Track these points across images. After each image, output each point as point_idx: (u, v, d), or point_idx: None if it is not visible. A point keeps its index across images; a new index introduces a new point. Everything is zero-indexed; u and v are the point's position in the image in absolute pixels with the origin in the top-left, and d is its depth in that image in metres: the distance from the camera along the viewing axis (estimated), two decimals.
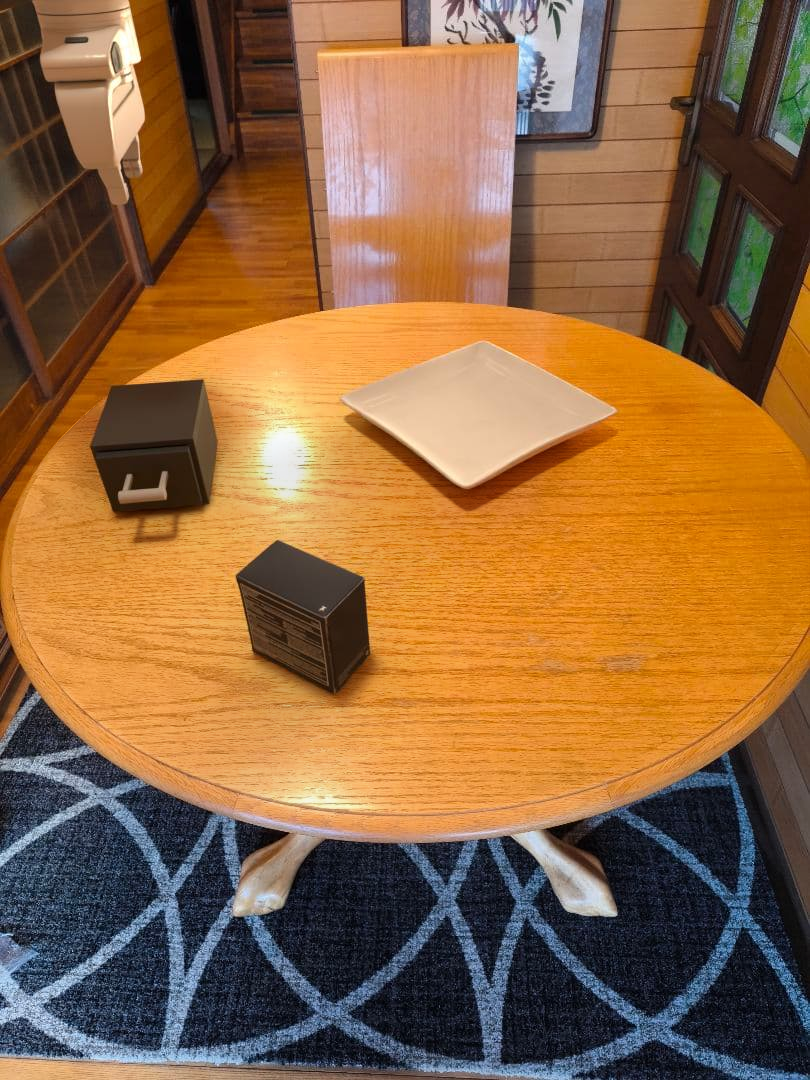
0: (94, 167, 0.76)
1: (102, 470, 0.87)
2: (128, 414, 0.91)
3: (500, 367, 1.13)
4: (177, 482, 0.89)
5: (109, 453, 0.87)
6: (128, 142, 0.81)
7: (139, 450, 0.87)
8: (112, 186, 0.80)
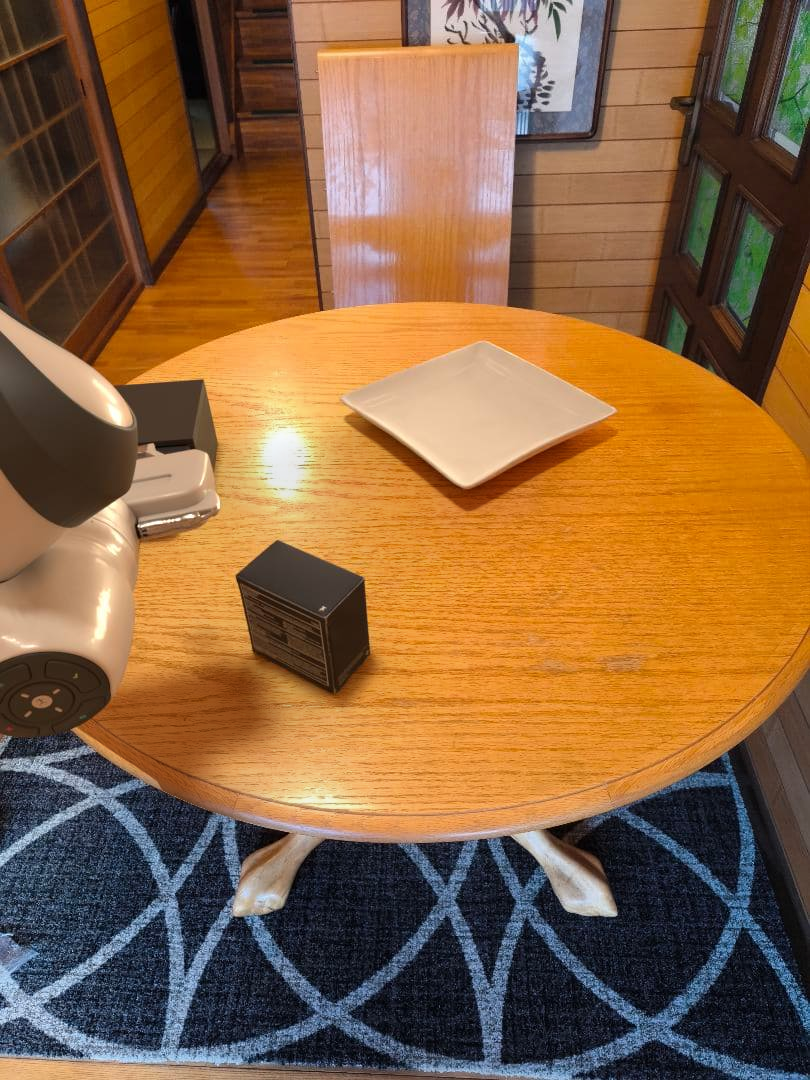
0: None
1: None
2: None
3: (500, 367, 1.13)
4: None
5: None
6: None
7: None
8: None
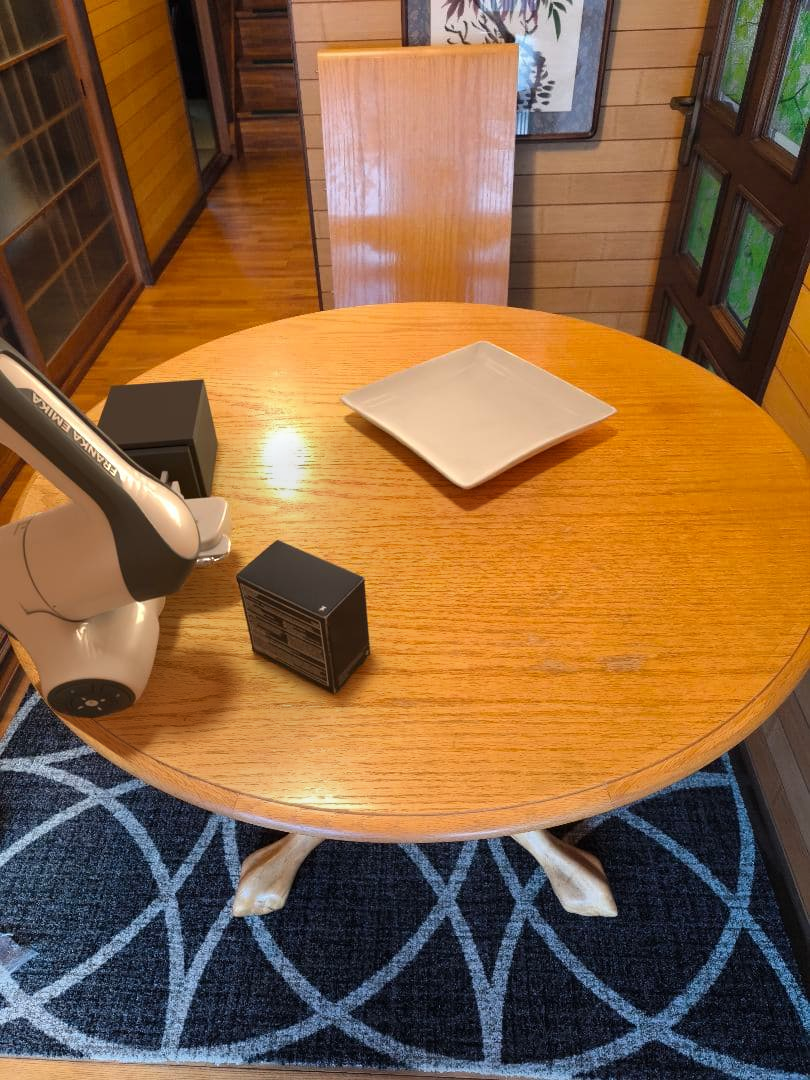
0: None
1: None
2: (128, 414, 0.91)
3: (500, 367, 1.13)
4: None
5: None
6: None
7: (139, 450, 0.87)
8: None
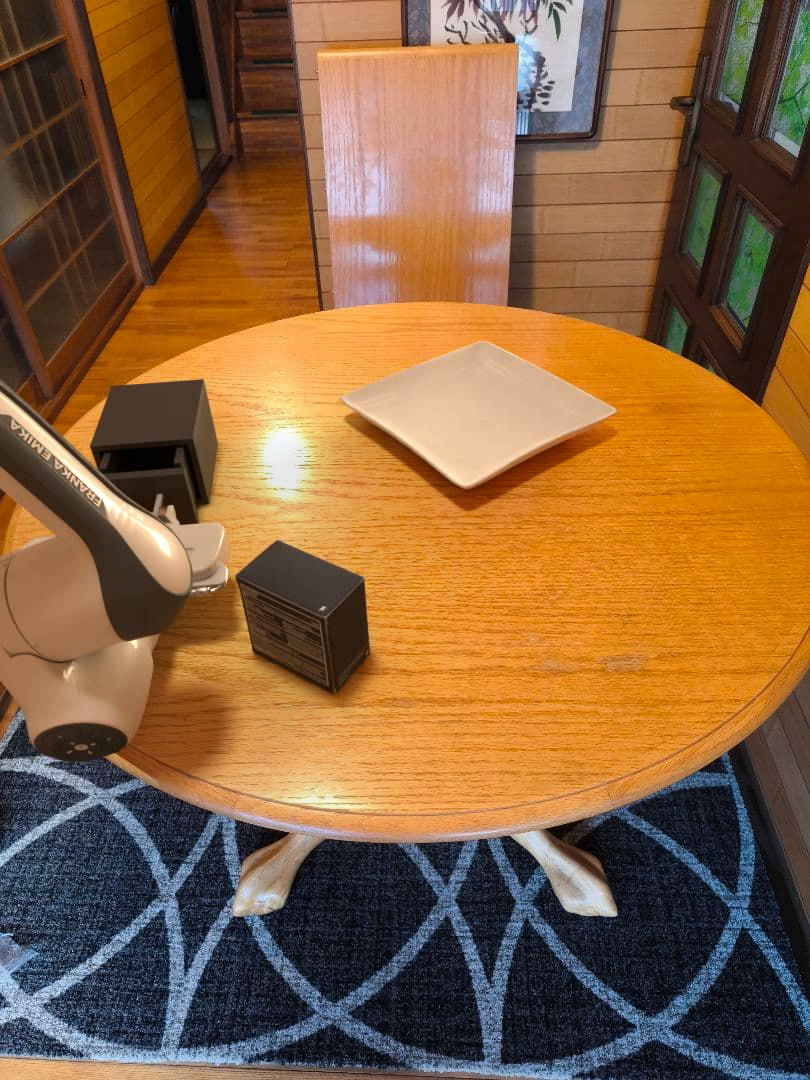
0: None
1: None
2: (128, 414, 0.91)
3: (500, 367, 1.13)
4: None
5: None
6: None
7: (133, 472, 0.84)
8: None
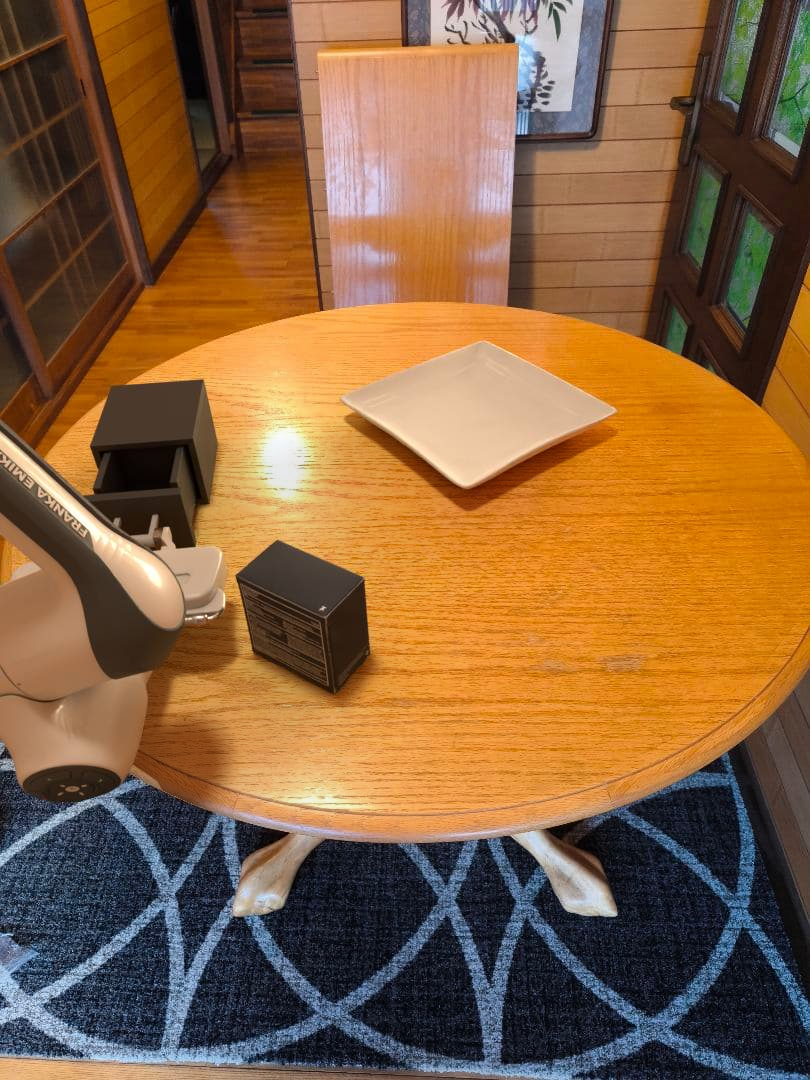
0: None
1: None
2: (128, 414, 0.91)
3: (500, 367, 1.13)
4: (168, 526, 0.83)
5: (95, 496, 0.81)
6: None
7: (128, 493, 0.81)
8: None
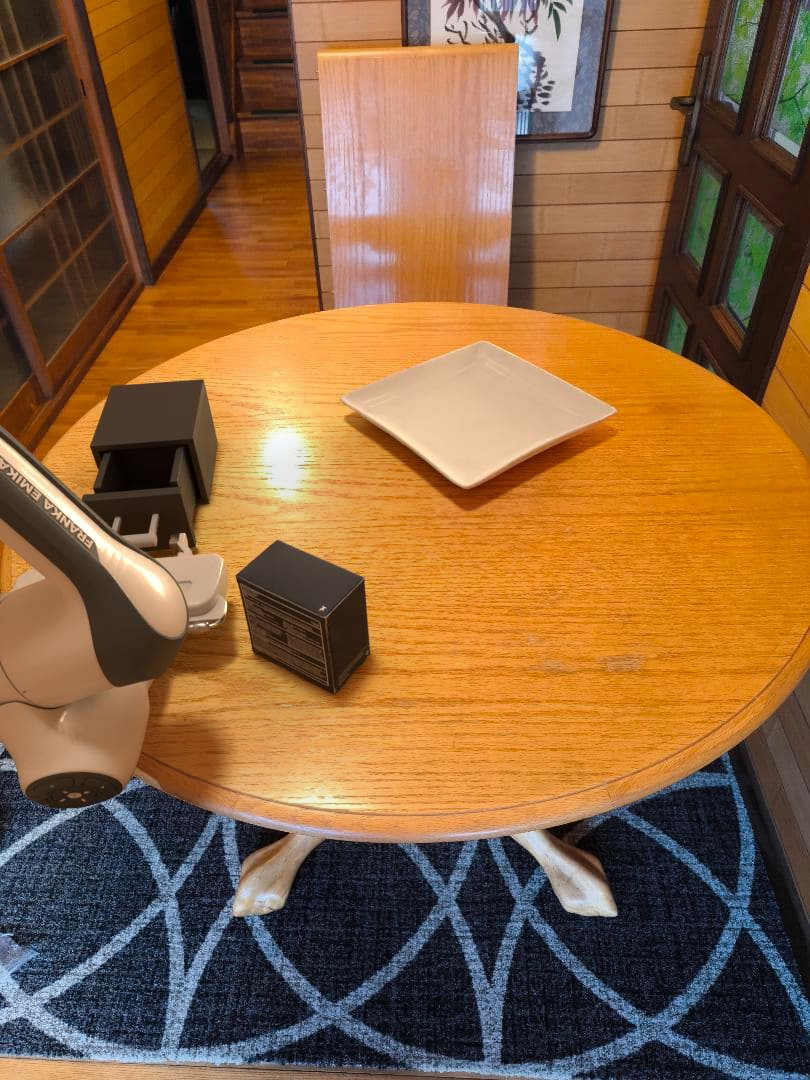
0: None
1: None
2: (128, 414, 0.91)
3: (500, 367, 1.13)
4: (168, 525, 0.84)
5: (96, 495, 0.81)
6: None
7: (128, 492, 0.81)
8: None
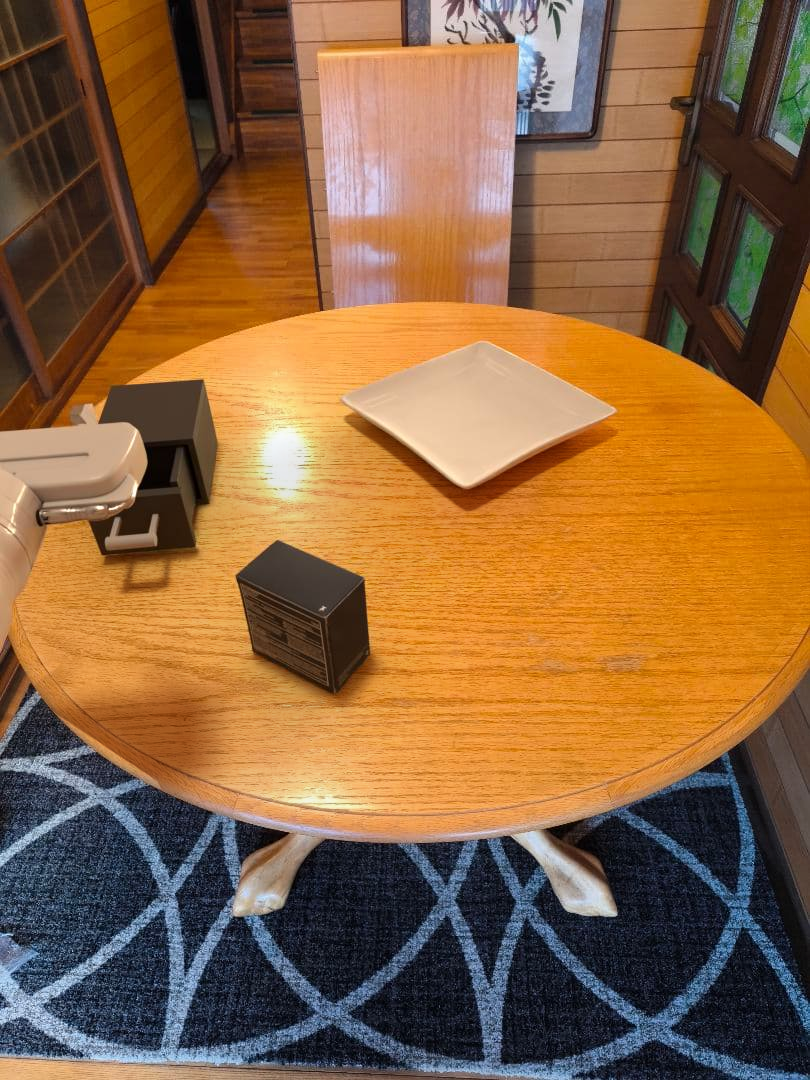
0: None
1: None
2: (128, 414, 0.91)
3: (500, 367, 1.13)
4: (168, 525, 0.84)
5: None
6: None
7: None
8: None
